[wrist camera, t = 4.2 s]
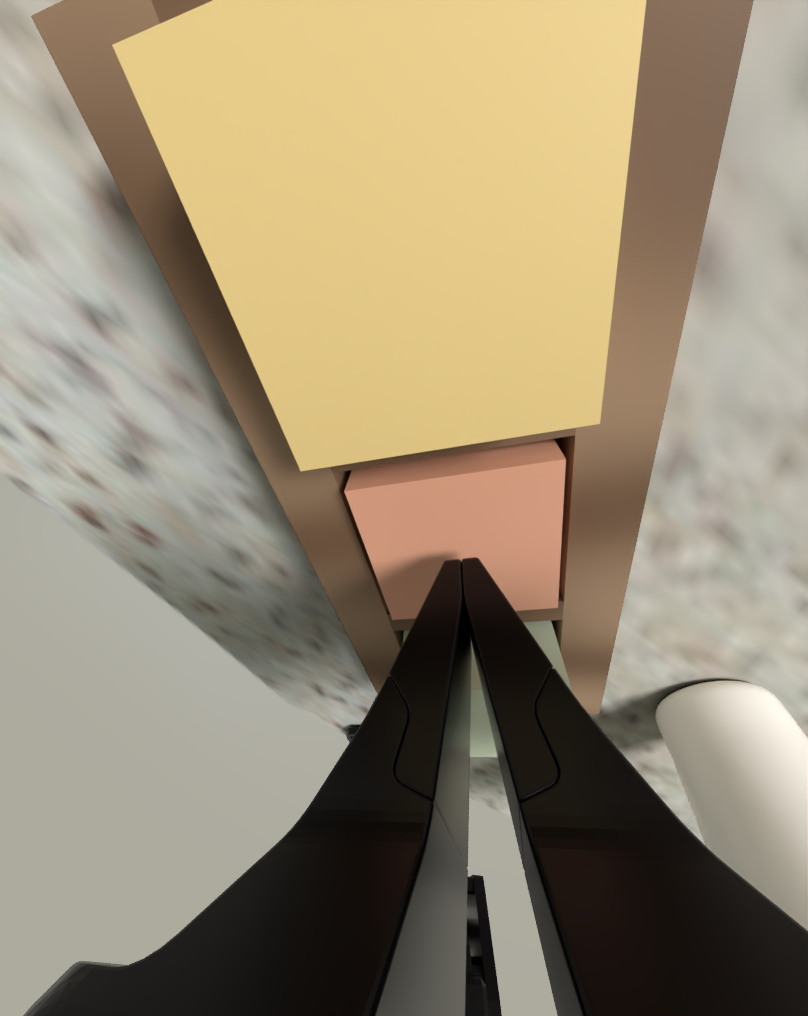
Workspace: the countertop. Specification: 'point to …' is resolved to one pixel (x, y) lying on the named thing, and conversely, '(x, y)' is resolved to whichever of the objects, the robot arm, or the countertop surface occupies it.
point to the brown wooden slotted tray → (588, 450)
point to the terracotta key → (464, 521)
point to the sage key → (479, 718)
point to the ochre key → (404, 205)
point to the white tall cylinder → (745, 783)
